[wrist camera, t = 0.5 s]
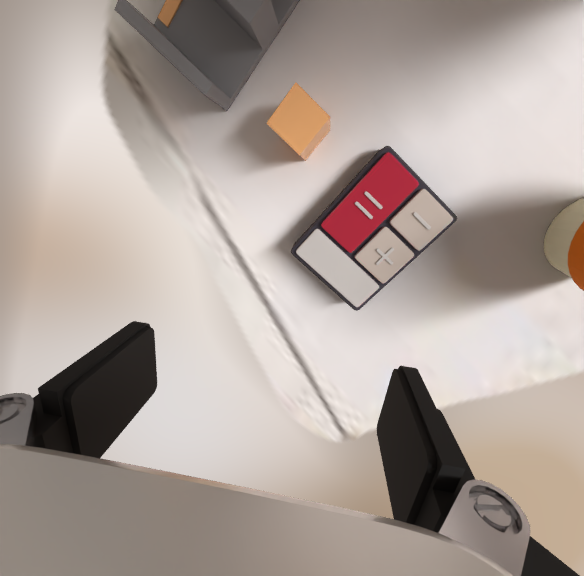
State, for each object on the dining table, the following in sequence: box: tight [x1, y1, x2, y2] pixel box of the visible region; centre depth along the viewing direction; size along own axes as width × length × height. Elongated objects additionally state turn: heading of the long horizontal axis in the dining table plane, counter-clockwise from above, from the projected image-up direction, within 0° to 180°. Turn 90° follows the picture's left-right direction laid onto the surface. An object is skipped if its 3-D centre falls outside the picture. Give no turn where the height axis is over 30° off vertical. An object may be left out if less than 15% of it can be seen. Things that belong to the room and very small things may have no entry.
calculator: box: [291, 146, 457, 310], centre depth 33 cm, size 11×4×15 cm
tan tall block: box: [267, 83, 330, 161], centre depth 28 cm, size 4×4×7 cm
